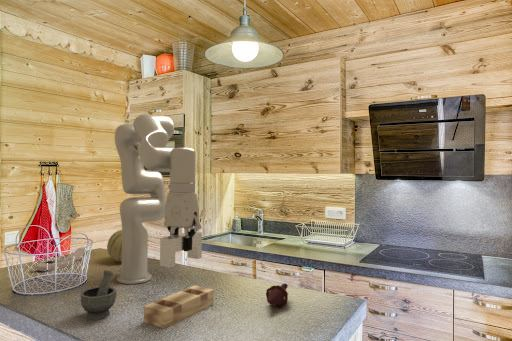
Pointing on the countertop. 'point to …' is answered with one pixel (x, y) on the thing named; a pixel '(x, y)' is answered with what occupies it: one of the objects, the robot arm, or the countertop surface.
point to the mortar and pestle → (99, 298)
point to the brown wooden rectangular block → (178, 306)
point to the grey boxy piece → (178, 248)
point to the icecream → (277, 295)
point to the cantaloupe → (115, 246)
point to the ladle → (60, 261)
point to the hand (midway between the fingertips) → (181, 248)
